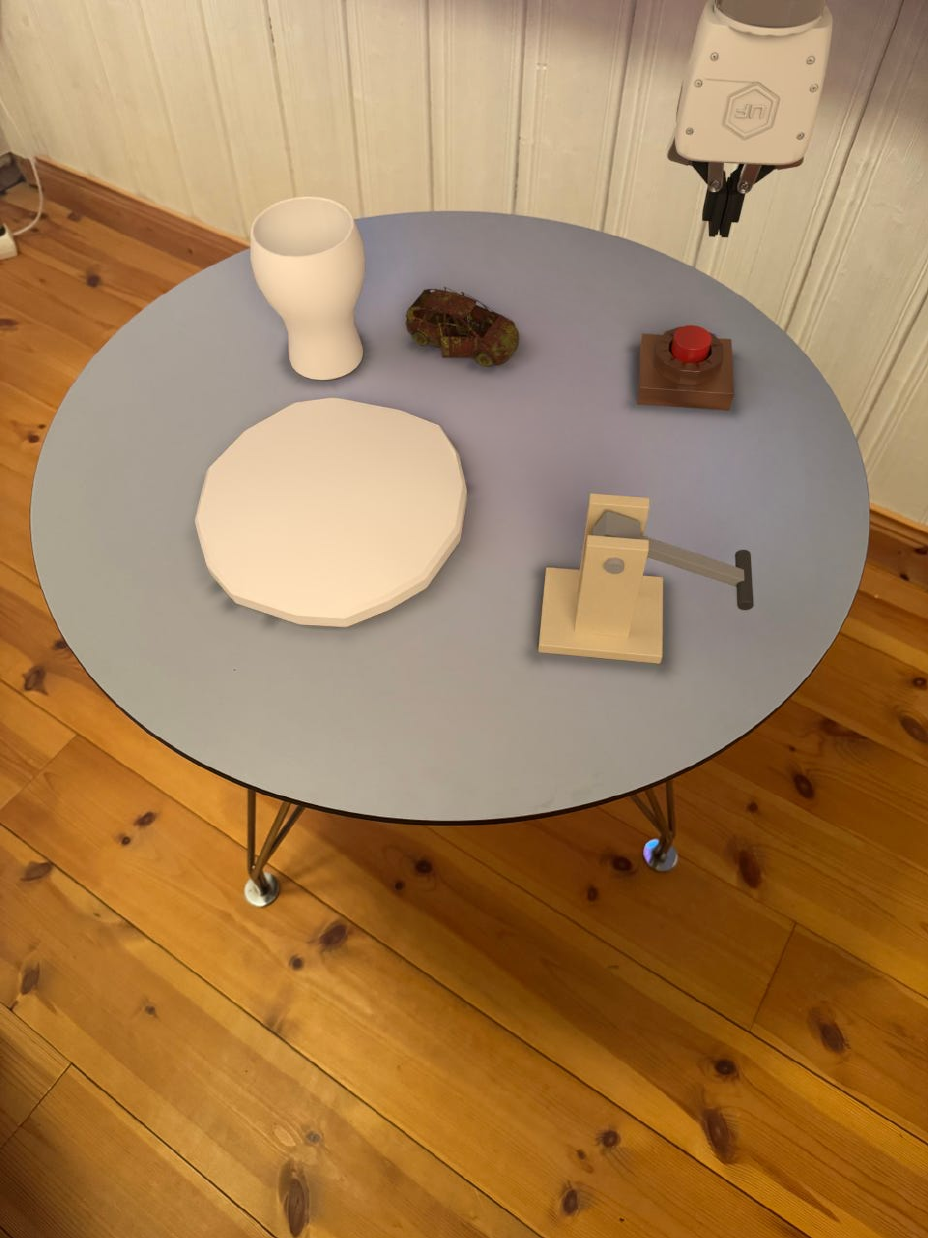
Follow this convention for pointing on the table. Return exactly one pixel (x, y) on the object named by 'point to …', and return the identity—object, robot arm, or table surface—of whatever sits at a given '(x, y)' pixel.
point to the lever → (685, 557)
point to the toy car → (461, 327)
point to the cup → (312, 280)
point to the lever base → (606, 594)
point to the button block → (685, 375)
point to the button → (691, 344)
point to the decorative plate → (331, 511)
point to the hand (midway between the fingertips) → (717, 226)
